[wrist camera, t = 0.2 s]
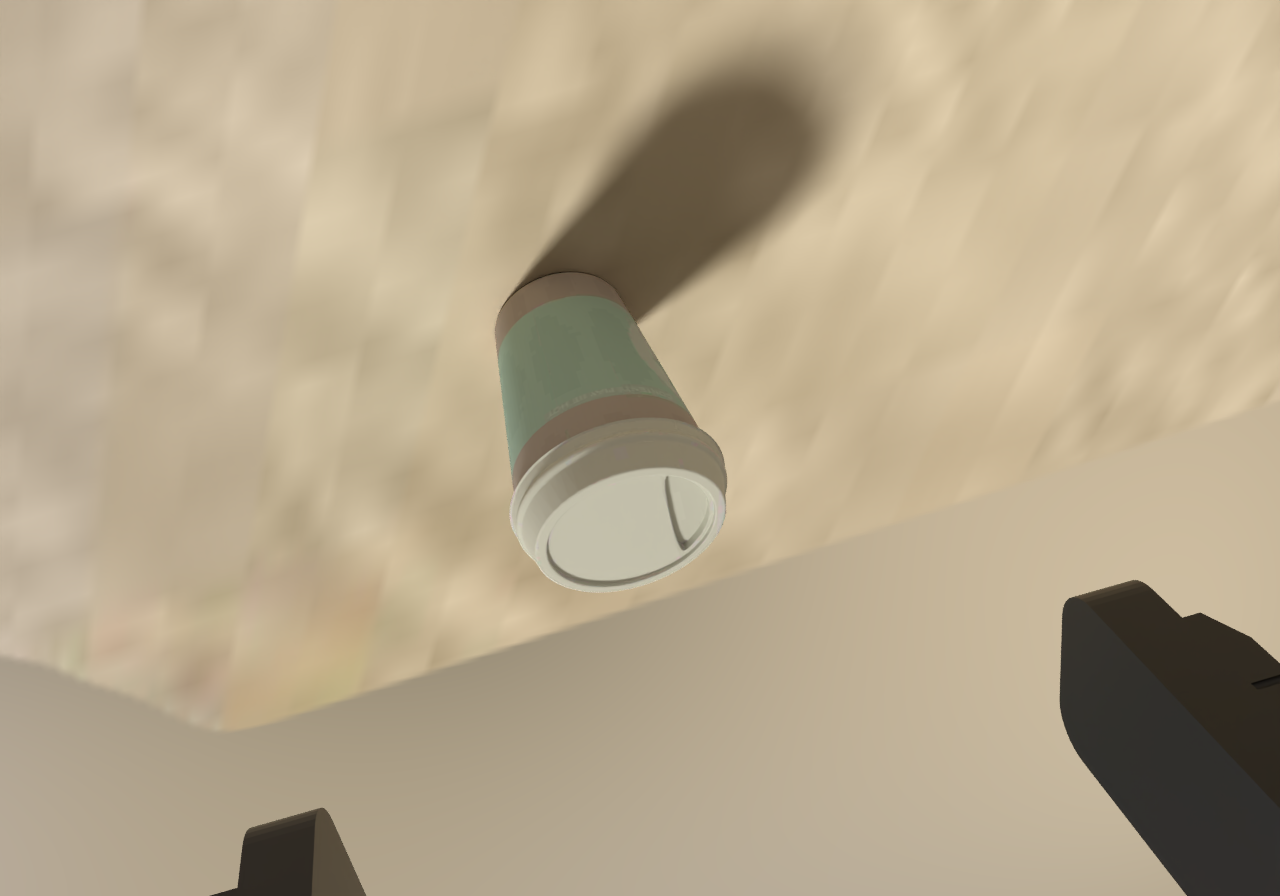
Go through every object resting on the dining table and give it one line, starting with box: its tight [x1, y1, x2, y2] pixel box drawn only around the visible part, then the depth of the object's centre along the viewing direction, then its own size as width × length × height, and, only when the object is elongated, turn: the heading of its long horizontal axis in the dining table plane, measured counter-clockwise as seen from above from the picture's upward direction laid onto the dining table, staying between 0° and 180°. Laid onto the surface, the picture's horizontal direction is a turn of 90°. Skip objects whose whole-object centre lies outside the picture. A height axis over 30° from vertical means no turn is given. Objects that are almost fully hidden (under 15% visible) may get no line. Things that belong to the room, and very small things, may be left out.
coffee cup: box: [495, 272, 727, 592], centre depth 46 cm, size 8×8×12 cm
